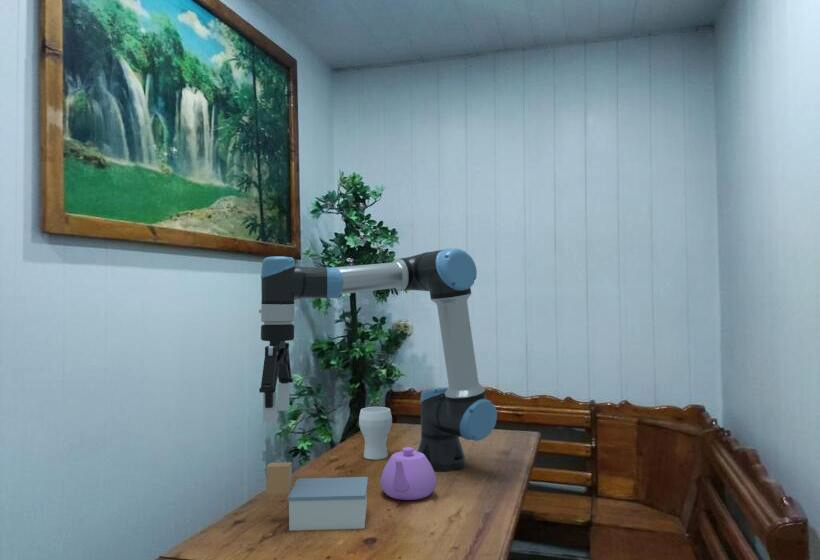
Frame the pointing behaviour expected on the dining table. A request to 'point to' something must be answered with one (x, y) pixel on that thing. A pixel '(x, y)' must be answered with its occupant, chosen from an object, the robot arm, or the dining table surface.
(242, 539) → the dining table surface
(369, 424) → the cup
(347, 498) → the lid
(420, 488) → the teapot
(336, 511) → the tub
